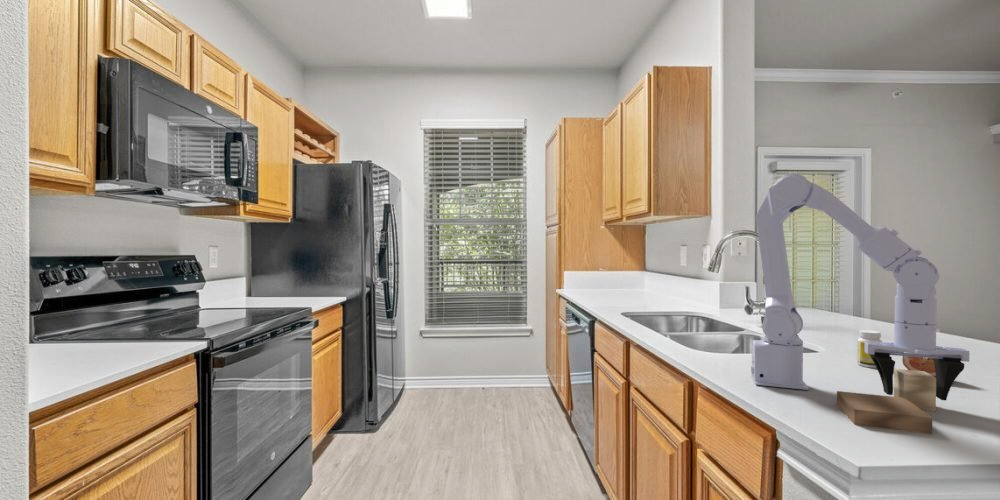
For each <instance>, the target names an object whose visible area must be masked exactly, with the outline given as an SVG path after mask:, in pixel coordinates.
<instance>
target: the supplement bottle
mask: <svg viewBox="0 0 1000 500" xmlns="http://www.w3.org/2000/svg"><path fill="white" fill-rule="evenodd" d="M881 334H882V333H881V332H880V331H878V330H877V331H876V330H869V329H864V330H863V329H862V330H859V338H858V339H857V365H859V366H860V367H864V368H865V367H866V368H870V369H871V368H872V369H877V368H876V366H875V364H874V362H873V360H872V359H871V357H870V354H867V353H866V352H865V342H872V343H883V341H882V340H881V336H882V335H881Z"/></svg>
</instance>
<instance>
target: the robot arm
mask: <svg viewBox="0 0 1000 500" xmlns="http://www.w3.org/2000/svg"><path fill="white" fill-rule="evenodd" d="M804 206H805V207H807V208H809V209H811V210H812V209H813V210H817V211H821V212H823V213H825V214H826V215H827V216H829V217H830V218H832V219H833V220H834V221H835V222H836V223H838V224H839V225H841V226H842V227H843V228H844V229H846V230H847V231H848V232H850V233H851V234H852V235H853V236H854V237H856V239H857V240H856V242H857V243H856V247H857V249H858V250H859V251H861V252H862V253H863V254H864V255H866V256H867V257H868V258H869V259H871V261H873V262H874V263H875V264H877V266H879V267H880V268H881V269H883V271H885V272H892V273H893V277H894V279H895V281H896V282H897V283H896V295H895V296H894V331H893V333H894V334H893V335H894V340H893V342H882V343H872V342H865V352H866V353H867V354H870V357H871V359H872V360H873V362H874V364H875V366H876V368H875V369H876V370H877V372H878V374H879V376H880V377H879V378H880V380H881V384H882V389H883V392H884V393H885V394H886V395H887V396H894V369H895V365H896V360H894V359H892V358H893V357H892V356H896V357H897V356H899V357H903V356H910V357H923V358H933V360H934V365H935V372H936V399H937V398H938V399H939V400H941V401H947V399H948V395H949V393H950V390H951V387H952V386H953V384H954V382H955V380H956V379H957V378H958V376H959V375H960V374H961V373H962V372H963V371H964V369H965V363H964V362H970V350H967V349H966V348H960V347H959V348H958V347H950V346H949V347H948V346H940V345H937V316H938V315H937V312H938V311H937V308H938V307H937V305H938V303H937V298H936V294H937V288H936V286H935V285H936V284H937V283H938V282H939V280H940V277H941V276H940V274H939V271H938V269H937V266H936V265H935V264H934V263H933V262H931V261H929V259H928V258H926V257H922V256H920V255H922V254H923V252H922V251H921V250H920V249H918V248H916V249H914V248H912V247H911V246H910V245H909V244H908V243H907V242H905V241H904V240H903V239H901V238H900V237H898V235H899V232H898V231H897V230H895V229H894V228H891V230H890V229H888V227H886V226H872V225H870V224H869V223H868V222H867V221H866V220H864V219H863V218H862V217H861V216H859V215H858V214H857V213H856V212H855V211H853V210H852V209H851V208H850V207H849V206H848V205H846V204H845V203H844V202H843V201H842V200H840V199H839V198H838V197H837V196H835V194H833V193H832V192H830V191H829V190H827V189H825V188H823V187H822V186H820V185H818V184H817V183H814V182H812V181H810V180H808V178H807V177H805V176H803V175H802V174H800V173H788V174H784V175H783V176H781V177H779V178H778V179H777V180H776V181H775V182H774V183H773V184H771V185H770V186H769V187H768V189H767V194H766V196H765V198H764V200H763V201H762V203H761V205H760V207H759V209H758V210H757V213H756V215H755V221H756V222H755V223H756V230H757V238H758V246H759V252H760V259H761V260H760V261H761V266H762V267H761V268H762V274H763V283H764V288H765V289H764V290H765V297H766V298H765V305H764V306H765V307H764V310H765V316H764V319H763V321H762V325H761V327H762V331H763V334H764V335H763V339H760V340H758V339H753V340H752V343H751V366H750V373H751V377H752V379H753V382H754V384H755V385H756V386H764V387H765V386H766V387H774V388H776V387H777V388H786V389H795V390H805V391H807V390H809V387H808V385H807V384H806V382H805V381H804V380H803V379H804V376H803V374H804V373H803V372H804V363H803V362H804V340H802V339H801V338H800V336H799V335H798V334H799V333H800V332H801V331H802V329H803V327H804V320H803V317H802V316H801V315H800V314H799V312H798V310H797V307H796V306H797V305H796V303H795V299H794V296H793V291H792V283H791V276H790V269H789V262H788V261H789V260H788V254H787V245H786V238H785V233H784V225H783V224H784V222H785V221H786V220H787V219H788V218H789V217H790V216H792V214H793V213H794V212H795V211H797V210H799V209H802V208H803V207H804Z"/></svg>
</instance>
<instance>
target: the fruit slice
mask: <svg viewBox="0 0 1000 500" xmlns="http://www.w3.org/2000/svg"><path fill="white" fill-rule="evenodd" d="M901 359H902V360H901V362H902V364H903V366H904V367H905V368H906V370H914V371H925V372H926V373H928V374H930V375H932V376H934V377H935V378H936V372H935V365H934V360H933V358H924V357H910V356H902V358H901Z"/></svg>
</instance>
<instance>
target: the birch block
mask: <svg viewBox="0 0 1000 500" xmlns="http://www.w3.org/2000/svg"><path fill="white" fill-rule="evenodd" d="M893 397H901V398H906V399H907V400H909V401H910V402H911V403H913V404H914V405H915V406H917V407H918V408H920V409H922V411H929V410H931V411H930V412H936V410H937V408H936V407H937V397H936V378H935V377H934V376H932V375H930V374H928V373H926V372H925V371H914V370H908V369H900V368H894V371H893Z"/></svg>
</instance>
